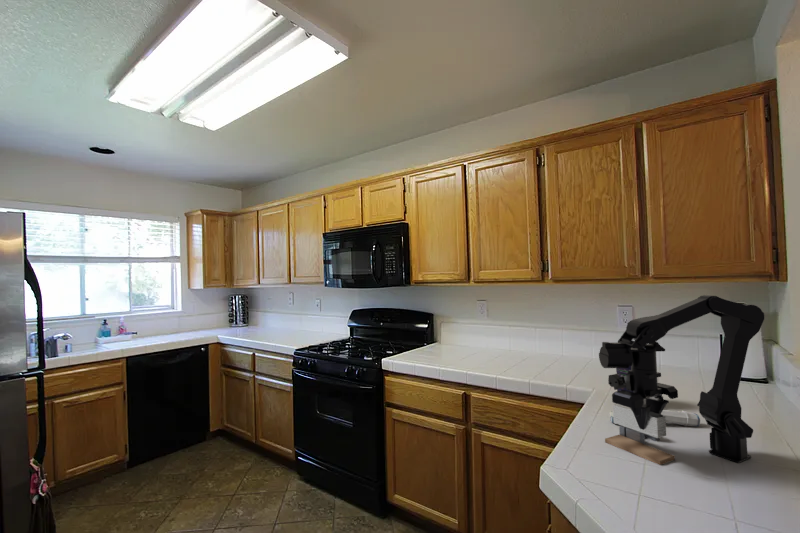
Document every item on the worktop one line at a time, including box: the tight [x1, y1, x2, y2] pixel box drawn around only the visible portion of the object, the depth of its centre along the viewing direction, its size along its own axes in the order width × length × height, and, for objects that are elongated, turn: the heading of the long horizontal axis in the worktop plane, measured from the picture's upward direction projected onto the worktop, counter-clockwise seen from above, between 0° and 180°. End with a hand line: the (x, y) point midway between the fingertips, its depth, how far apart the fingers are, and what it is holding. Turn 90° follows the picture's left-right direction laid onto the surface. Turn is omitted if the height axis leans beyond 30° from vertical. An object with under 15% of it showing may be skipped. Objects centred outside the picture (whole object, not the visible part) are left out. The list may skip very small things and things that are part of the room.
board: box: [604, 434, 676, 466], centre depth 103 cm, size 15×6×1 cm, turn 25°
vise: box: [618, 425, 661, 445], centre depth 110 cm, size 6×9×4 cm
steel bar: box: [612, 403, 667, 439], centre depth 103 cm, size 12×4×5 cm, turn 25°
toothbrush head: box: [609, 409, 701, 427], centre depth 120 cm, size 5×7×25 cm
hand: (646, 427), depth 101 cm, fingers closed on steel bar, 3 cm apart
